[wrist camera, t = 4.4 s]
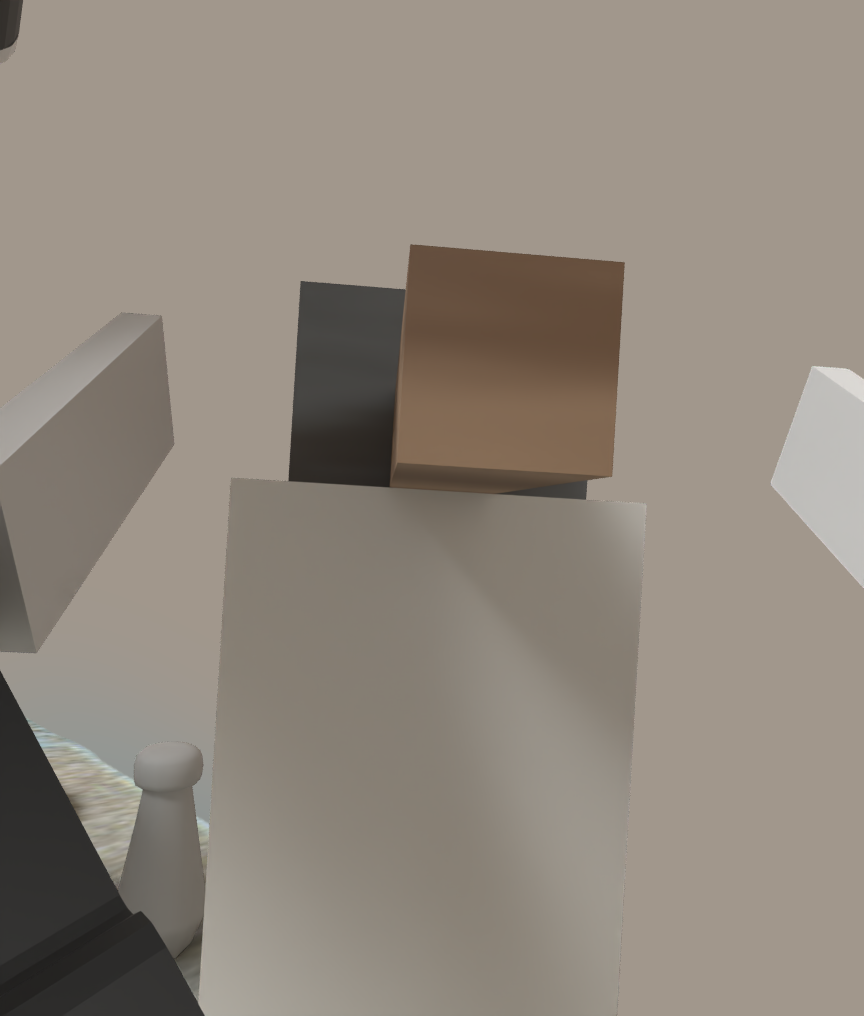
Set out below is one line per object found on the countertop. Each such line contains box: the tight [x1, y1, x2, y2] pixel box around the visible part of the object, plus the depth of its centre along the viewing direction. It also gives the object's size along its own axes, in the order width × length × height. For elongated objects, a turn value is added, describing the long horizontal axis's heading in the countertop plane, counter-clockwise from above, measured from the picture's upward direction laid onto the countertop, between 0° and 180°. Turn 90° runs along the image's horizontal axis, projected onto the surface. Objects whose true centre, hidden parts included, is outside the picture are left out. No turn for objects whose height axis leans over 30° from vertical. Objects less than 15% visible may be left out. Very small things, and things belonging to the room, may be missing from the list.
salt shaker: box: [118, 742, 205, 959], centre depth 48 cm, size 6×6×13 cm
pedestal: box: [198, 478, 647, 1016], centre depth 28 cm, size 14×12×30 cm
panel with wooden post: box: [289, 245, 625, 500], centre depth 19 cm, size 18×9×6 cm, turn 4°
